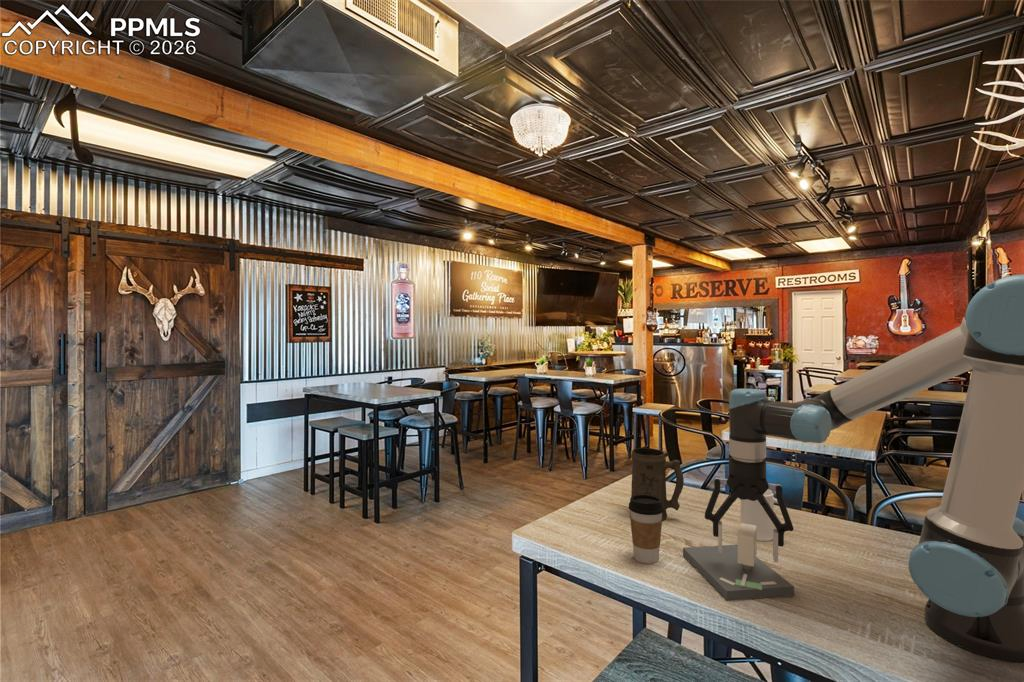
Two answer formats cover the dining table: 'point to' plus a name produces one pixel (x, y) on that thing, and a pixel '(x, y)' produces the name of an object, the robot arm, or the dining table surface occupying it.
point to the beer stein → (655, 476)
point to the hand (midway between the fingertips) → (747, 554)
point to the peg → (747, 548)
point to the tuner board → (736, 574)
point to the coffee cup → (646, 527)
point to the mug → (759, 516)
